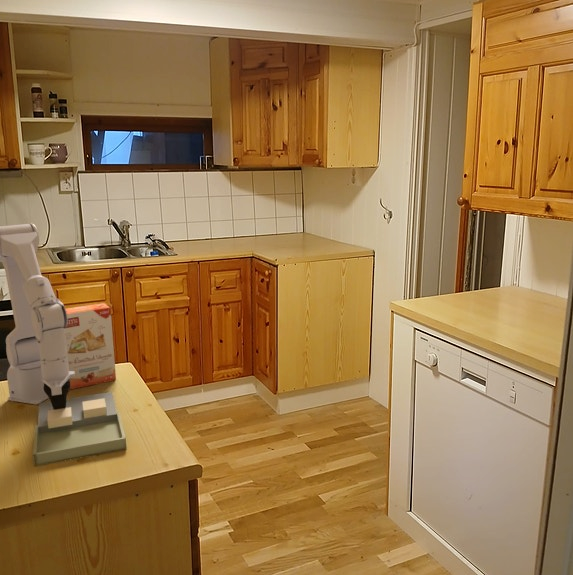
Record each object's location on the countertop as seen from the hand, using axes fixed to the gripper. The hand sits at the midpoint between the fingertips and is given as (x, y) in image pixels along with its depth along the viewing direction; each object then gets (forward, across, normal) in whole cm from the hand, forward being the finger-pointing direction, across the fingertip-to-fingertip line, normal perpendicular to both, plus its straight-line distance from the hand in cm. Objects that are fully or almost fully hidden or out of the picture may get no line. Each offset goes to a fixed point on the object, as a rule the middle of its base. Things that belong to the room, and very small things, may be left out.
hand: (60, 412), depth 135 cm
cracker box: (+3, +23, -7) cm, 24 cm away
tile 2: (+1, -1, -8) cm, 8 cm away
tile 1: (+1, -3, 0) cm, 3 cm away
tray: (+3, -11, -4) cm, 12 cm away
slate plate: (+3, +2, -4) cm, 5 cm away
